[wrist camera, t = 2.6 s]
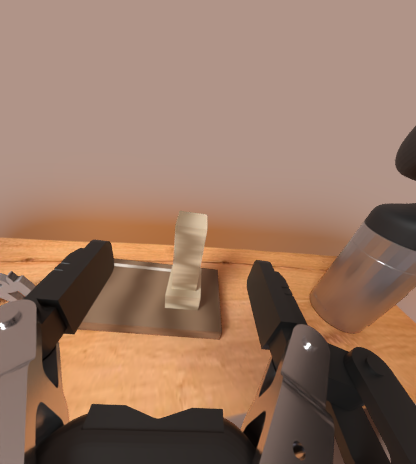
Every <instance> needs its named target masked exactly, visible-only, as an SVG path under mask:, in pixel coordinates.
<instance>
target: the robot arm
mask: <svg viewBox="0 0 416 464" xmlns="http://www.w3.org/2000/svg"><path fill="white" fill-rule="evenodd" d="M395 165H396V168H397V170H398V171H399V172H400V173H401V174H402V175H404V176H406V177H408V178H410V179H412V180H415V181H416V126H415V127H414V129H413V130H412V131H411V132H410V133H409V134H408V136H407V137H406V138H405V140H404V141H403V143H402V144H401V146H400V148H399V150H398V152H397V155H396V160H395ZM113 270H114V258H113V252H112V246H111V243H110V242H109V241H101V240H92V241H91V242H90V243H89V244H88V245H87V246H86V247H85V248H79V249H78V250H76V251H74V252H72V253H70V254H69V255H68V256H67V257H66V258H65V259H64V260H63V261H62V262H61V264H59V265H58V266H57V267H55V268H54V270H52V271H51V272H50V273H49V274H48V275H47V276H46V277H45V278H44V279H43V280H42V281H41V282H40V283H39V284H38V285H37V286H36V287H35V288H34V289H33V290H32V291H31V292H30V293H29V294H28V295H27V296H26V297H24V298H23V299H22V300H15V301H12V302H9V303H6V304H3V305H1V306H0V464H333V453H334V436H335V439H336V441H337V444H338V447H339V449H340V452H341V455H342V457H343V460H344V463H345V464H416V405H415V404H414V402H413V401H412V400H411V398H410V397H409V395H408V394H407V392H406V391H405V389H404V388H403V387H402V385H401V384H400V382H399V381H398V379H397V378H396V377H395V375H394V374H393V372H392V371H391V369H390V368H389V367H388V366H387V364H386V363H385V362H384V361H383V360H382V359H381V358H379V357H378V356H377V355H376V354H374V353H373V352H371V351H369V350H368V349H365V348H362V347H355V348H354V349H352V350H351V351H350V352H348V351H345V350H343V349H341V348H338V347H336V346H333V345H331V344H329V343H327V342H326V340H325V339H324V338H323V336H322V335H321V334H320V333H319V332H318V331H316V330H315V329H314V328H312V327H310V326H308V325H307V323H306V321H305V319H304V317H303V315H302V313H301V311H300V309H299V307H298V305H297V303H296V301H295V299H294V297H293V296H292V293H291V290H290V289H289V286H288V284H287V282H286V280H285V279H284V278H283V277H282V276H281V275H280V273H279V272H275V271H274V269H273V267H272V265H271V263H270V262H268V261H260V260H256V261H255V262H254V264H253V267H252V269H251V272H250V274H249V276H248V279H247V290H248V295H249V299H250V303H251V307H252V311H253V315H254V320H255V324H256V328H257V332H258V336H259V340H260V344H261V349H268V350H270V352H271V355H272V356H271V358H270V360H269V362H268V365H267V368H266V370H265V373H264V376H263V378H262V381H261V384H260V386H259V389H258V392H257V394H256V397H255V399H254V401H253V403H252V405H251V407H250V408H249V410H248V412H247V415H246V417H245V419H244V422H243V424H242V427H241V429H239V428H238V427H237V426H236V425H235V424H233V423H232V422H230V421H229V420H227V419H225V418H223V409H206V408H191V409H187V410H184V411H181V412H178V413H175V414H172V415H169V416H166V417H163V418H160V419H156V418H153V417H151V416H149V415H146V414H144V413H142V412H140V411H137V410H135V409H133V408H131V407H128V406H126V405H103V404H92V405H91V407H90V410H89V412H88V414H85V415H83V416H80V417H78V418H76V419H74V420H72V421H70V422H69V412H68V406H67V402H66V399H65V396H64V392H63V386H62V374H61V361H60V349H59V342H58V341H59V340H60V338H61V337H62V335H63V334H75V332H76V331H77V329H78V328H79V326H80V324H81V323H82V321H83V320H84V318H85V316H86V315H87V313H88V312H89V310H90V308H91V307H92V305H93V303H94V302H95V300H96V299H97V297H98V295H99V294H100V292H101V291H102V289H103V287H104V286H105V284H106V282H107V281H108V279H109V278H110V276H111V274H112V272H113ZM415 287H416V203H412V204H382V205H379V206H377V207H375V208H374V209H373V210H372V211H371V213H370V214H369V216H368V217H367V218H366V219H365V221H364V222H363V224H362V225H361V226H360V228H359V229H358V230H357V232H356V233H355V234H354V236H353V237H352V238H351V240H350V241H349V242H348V244H347V245H346V246H345V248H344V249H343V251H342V252H341V253H340V254H339V256H338V257H337V258H336V260H335V261H334V262H333V264H332V265H331V266H330V267H329V269H328V270H327V271H326V273H325V274H324V275H323V277H322V278H321V279H320V281H319V282H318V283H317V285H316V286H315V287H314V289H313V290H312V291H311V293H310V301H311V304H312V306H313V308H314V309H315V311H316V312H317V313H318V314H319V315H320V316H321V317H322V318H323V319H324V320H325V321H326V322H328V323H329V324H330V325H332V326H334V327H335V328H337V329H339V330H341V331H344V332H348V333H359V332H360V331H362V330H363V329H364V328H365V327H367V326H370V325H371V324H372V323H373V322H375V321H376V320H377V319H378V318H380V317H381V316H382V315H383V314H384V313H386V312H387V311H388V310H389V309H391V308H392V307H393V306H394V305H396V304H397V303H398V302H399V301H401V300H402V299H403V298H404V297H405V296H407V295H408V293H409V292H410V291H411V290H412V289H414V288H415ZM364 405H365V406H366V408H367V410H368V412H369V414H370V416H371V418H372V419H373V422H374V423H375V425H376V427H377V429H378V431H379V433H380V435H381V437H382V439H383V441H384V443H385V445H386V447H387V449H388V451H389V454H390V458H391V463H390V461H389V459H388V457H387V455H386V454H385V452H384V450H383V448H382V446H381V444H380V442H379V440H378V438H377V436H376V434H375V432H374V430H373V428H372V426H371V424H370V422H369V420H368V418H367V416H366V414H365V412H364V410H363V408H362V406H364Z"/></svg>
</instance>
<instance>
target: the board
mask: <svg viewBox="0 0 416 464" xmlns="http://www.w3.org/2000/svg"><path fill="white" fill-rule="evenodd" d="M171 269H172V265H168V264H159V263H150V262H140V261H131V260H122V259H114V270H113V272H112V274H111V276H110V278H109V279H108V281H107V282H106V284H105V286H104V287H103V289H102V291H101V292H100V294H99V295H98V297H97V299H96V300H95V302H94V303H93V305H92V307H91V308H90V310H89V312H88V313H87V315H86V316H85V318H84V320H83V321H82V323H81V324H80V326H79V328H78V329H80V330H94V331H108V332H122V333H136V334H150V335H164V336H178V337H191V338H205V339H219V338H220V336H221V333H222V329H221V314H220V300H219V285H218V271H217V270H214V269H205V268H202V270H201V297H200V303H199V308H198V310H186V309H174V308H165V294H166V290H167V286H168V282H169V277H170V273H171Z"/></svg>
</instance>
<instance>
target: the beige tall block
mask: <svg viewBox="0 0 416 464" xmlns="http://www.w3.org/2000/svg"><path fill="white" fill-rule="evenodd" d="M206 233H207V215H204V214H198V213H191V212H183V211H180V212H179V216H178V219H177V223H176V227H175V244H174V260H173V265H172V269H171V273H170V277H169V282H168V286H167V290H166V294H165V308H174V309H186V310H198V308H199V303H200V297H201V270H202V268H200V266H201V261H202V255H203V250H204V244H205V238H206Z"/></svg>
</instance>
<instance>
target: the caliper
mask: <svg viewBox="0 0 416 464" xmlns="http://www.w3.org/2000/svg"><path fill="white" fill-rule="evenodd" d="M34 288H35V285H34V284H33V283H32V282H30V281H29V280H28V279H27V278H26V277H24V276H17V275H16V274H15V273H13V272H12V271H11V272H10V273H9V274H8V275H5V274H2V273H0V298H2V299H4V300H7V301H9V302H12V301H15V300H22V299H23V298H24V296H27V295H28V294H29V293H30V292H31V291H32V290H33V289H34ZM18 291H19V292H20V293H22V294H23V295H24V296H23V295H22V294H20V293H19V292H18Z"/></svg>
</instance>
